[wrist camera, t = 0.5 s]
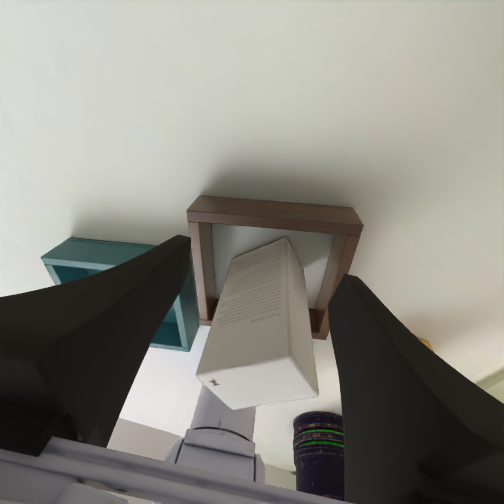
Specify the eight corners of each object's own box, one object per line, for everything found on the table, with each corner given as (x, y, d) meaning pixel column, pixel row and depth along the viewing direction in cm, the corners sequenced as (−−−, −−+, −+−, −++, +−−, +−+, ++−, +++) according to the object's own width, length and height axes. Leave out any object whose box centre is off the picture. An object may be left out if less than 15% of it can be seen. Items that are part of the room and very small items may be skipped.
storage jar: (280, 422, 42) (278, 561, 29) (322, 404, 37) (341, 563, 24) (321, 442, 44) (335, 578, 32) (366, 428, 39) (403, 583, 27)
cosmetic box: (252, 287, 25) (229, 412, 15) (231, 257, 24) (190, 376, 14) (306, 269, 23) (321, 399, 13) (288, 234, 21) (289, 355, 11)
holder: (322, 315, 26) (326, 340, 24) (208, 302, 27) (200, 325, 25) (353, 207, 19) (364, 225, 17) (199, 195, 20) (185, 210, 18)
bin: (199, 326, 30) (189, 352, 27) (104, 315, 31) (84, 338, 28) (189, 248, 24) (175, 271, 21) (69, 237, 25) (39, 257, 22)
